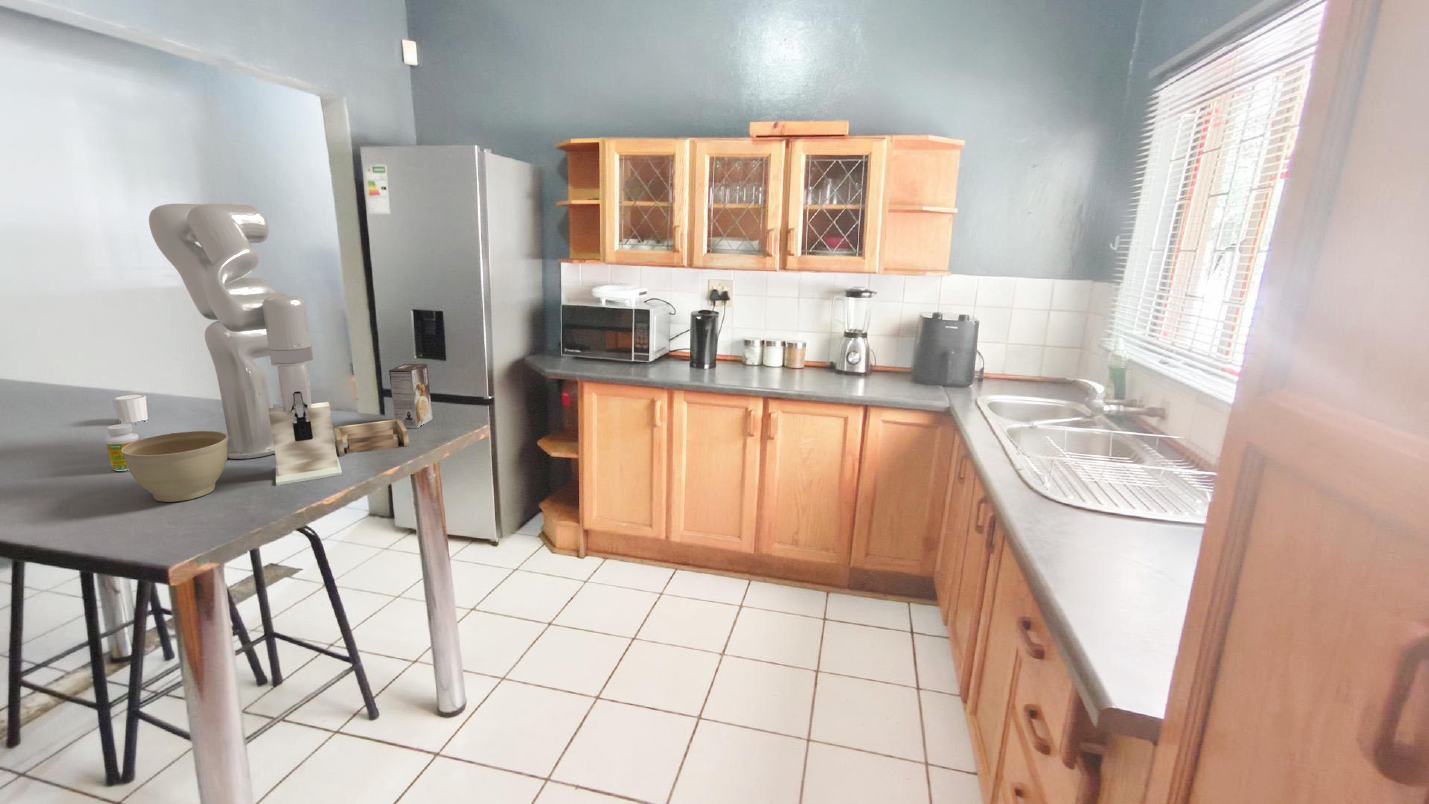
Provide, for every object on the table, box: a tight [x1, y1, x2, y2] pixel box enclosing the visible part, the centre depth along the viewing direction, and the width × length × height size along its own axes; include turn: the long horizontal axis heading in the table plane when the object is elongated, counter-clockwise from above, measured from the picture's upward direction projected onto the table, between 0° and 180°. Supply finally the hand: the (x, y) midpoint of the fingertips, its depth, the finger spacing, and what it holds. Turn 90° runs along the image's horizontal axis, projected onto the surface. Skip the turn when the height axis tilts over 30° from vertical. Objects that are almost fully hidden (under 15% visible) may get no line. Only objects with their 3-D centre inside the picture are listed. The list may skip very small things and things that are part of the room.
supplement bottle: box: [105, 423, 141, 470], centre depth 142 cm, size 5×5×10 cm
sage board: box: [275, 456, 343, 486], centre depth 143 cm, size 12×12×1 cm
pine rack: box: [333, 419, 410, 457], centre depth 161 cm, size 15×12×4 cm
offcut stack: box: [346, 429, 399, 454], centre depth 159 cm, size 11×5×4 cm, turn 115°
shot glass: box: [111, 393, 149, 422], centre depth 176 cm, size 7×7×7 cm
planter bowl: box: [121, 430, 228, 503], centre depth 129 cm, size 16×16×11 cm
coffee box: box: [388, 363, 434, 429], centre depth 178 cm, size 9×6×16 cm
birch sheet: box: [269, 401, 338, 476], centre depth 141 cm, size 11×4×14 cm, turn 124°
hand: (303, 434), depth 141 cm, fingers open, 9 cm apart
